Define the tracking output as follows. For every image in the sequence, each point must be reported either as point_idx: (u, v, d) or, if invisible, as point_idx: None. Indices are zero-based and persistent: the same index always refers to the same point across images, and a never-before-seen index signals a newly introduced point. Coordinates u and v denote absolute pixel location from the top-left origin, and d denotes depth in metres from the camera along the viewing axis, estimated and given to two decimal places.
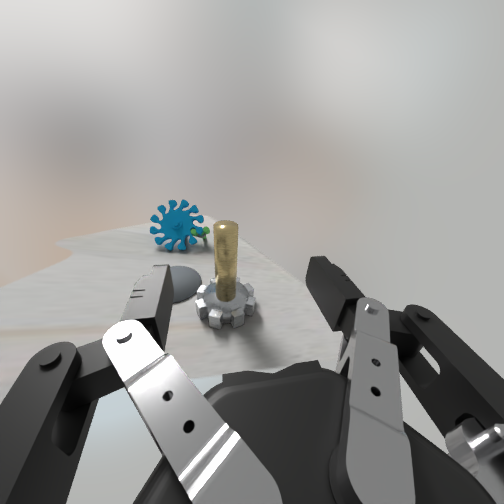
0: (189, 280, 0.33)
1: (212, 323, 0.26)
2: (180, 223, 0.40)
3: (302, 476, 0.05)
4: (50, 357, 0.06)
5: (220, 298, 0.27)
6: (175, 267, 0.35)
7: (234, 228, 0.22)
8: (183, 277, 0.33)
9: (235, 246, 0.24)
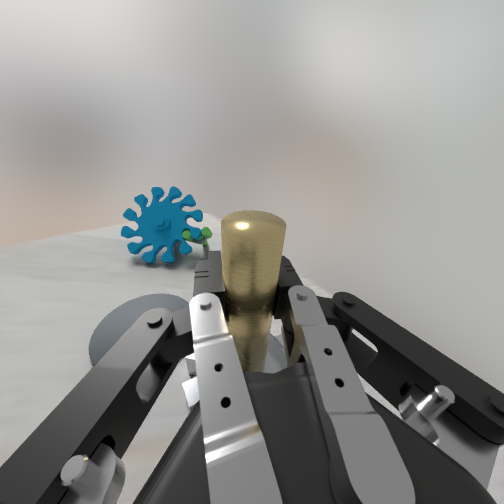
0: None
1: None
2: (167, 222, 0.26)
3: (302, 476, 0.05)
4: (154, 318, 0.08)
5: None
6: (153, 296, 0.21)
7: (278, 230, 0.08)
8: None
9: (276, 275, 0.09)
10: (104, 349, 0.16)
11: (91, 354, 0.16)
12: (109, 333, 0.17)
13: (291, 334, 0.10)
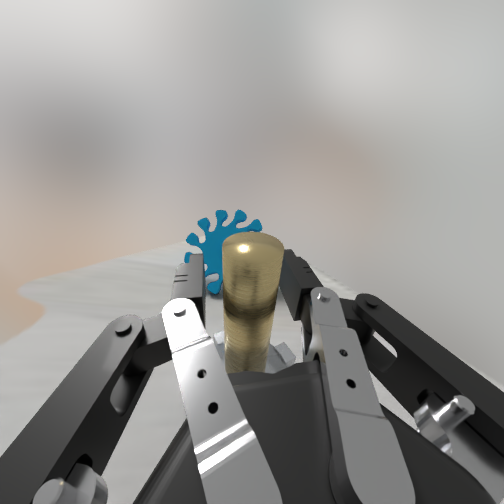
0: None
1: None
2: None
3: (302, 476, 0.05)
4: (123, 326, 0.07)
5: None
6: None
7: (277, 253, 0.09)
8: None
9: (275, 295, 0.10)
10: None
11: None
12: None
13: (310, 335, 0.10)
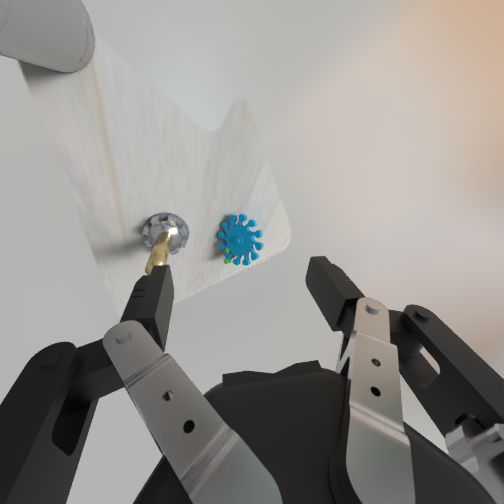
0: None
1: (145, 226, 0.40)
2: (236, 244, 0.41)
3: (302, 476, 0.05)
4: (50, 357, 0.06)
5: (158, 235, 0.39)
6: None
7: None
8: None
9: None
10: None
11: (153, 216, 0.40)
12: None
13: None
